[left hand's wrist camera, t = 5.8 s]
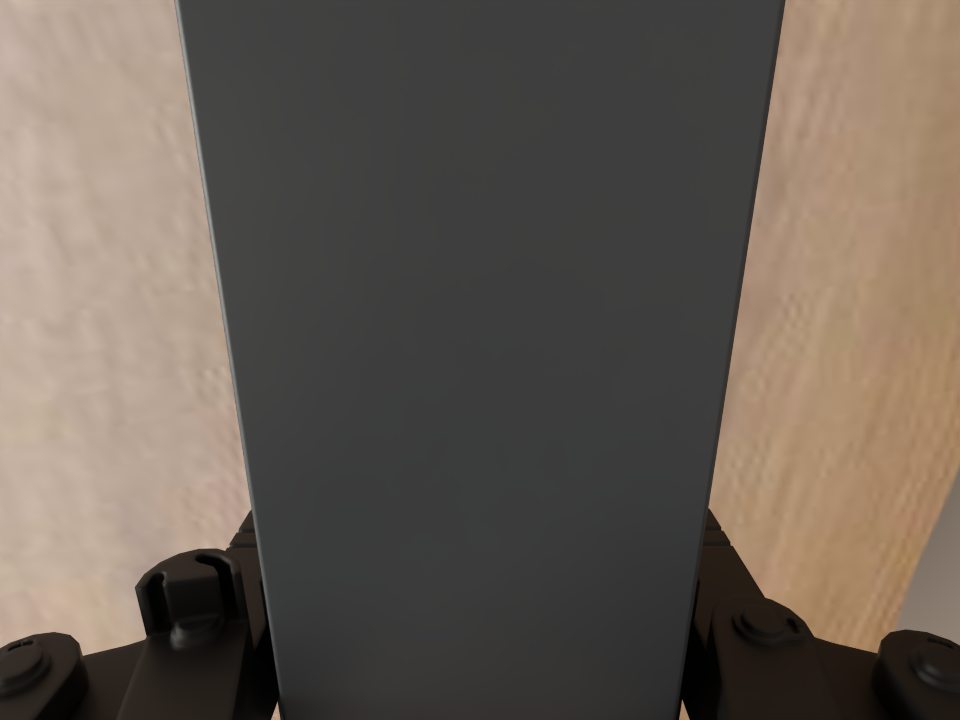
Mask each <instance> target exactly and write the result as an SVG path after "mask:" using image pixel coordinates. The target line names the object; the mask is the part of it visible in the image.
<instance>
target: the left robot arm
mask: <svg viewBox="0 0 960 720" xmlns="http://www.w3.org/2000/svg"><path fill="white" fill-rule="evenodd" d="M135 590H136V594H137V598H138V602H139V607H140V611H141V615H142V619H143V623H144V627H145V631H146V635H147V637H146V639H145V640H143V641H140V642H136V643H133V644H130V645H127V646H123V647H118V648H114V649H110V650H106V651H102V652H98V653H93V654H89V655H85V656H83V655H82V652H81V648H80V645H79V643H78V642H77V641H76V640H75V639H74V638H73V637H72V636H71V635H67V634H62V633H56V632H51V633H43V634H36V635H31V636H29V637H26V638H23V639H20V640H17V641H14V642H11V643H9V644H7V645H6V646H4V647H2V648H0V720H271V718H272V715H273V713H274V710H275V707H276V704H277V701H278V706H279V713H280V719H281V720H284V718H283V711H282V705H281V698H280V691H279V685H278V678H277V672H276V665H275V659H274V652H273V645H272V639H271V632H270V626H269V619H268V613H267V606H266V599H265V593H264V586H263V580H262V573H261V567H260V560H259V553H258V547H257V540H256V534H255V527H254V521H253V514H252V510H251V511H250V512H249V514H248V515H247V517H246V518H245V520H244V522H243V523H242V525H241V526H240V528H239V532H238V533H236V534H235V536H234V538H233V539H232V541H231V543H230V546H229V548H227V549H226V551H223V550H220V549H197V550H192V551H188V552H184V553H180V554H177V555H175V556H173V557H171V558H169V559H166V560H164V561H162V562H160V563H159V564H157V565H156V566H155V567H153V568H152V569H151V570H149V571H148V572H147V573H145V574H144V575H143V577H142V578H141V580H140V581H139V582H138V584H137V585H136V586H135ZM682 700H683V702H684V705H685V708H686V711H687V714H688V716H689V719H690V720H960V646H959V645H958V644H956V643H954V642H952V641H951V640H948V639H945V638H942V637H939V636H936V635H933V634H930V633H928V632H921V631H913V630H901V631H895V632H890V633H889V634H888V635H887V636H886V637H885V638H884V639H883V640H881V643H880V646H879V650H878V653H873V652H869V651H864V650H860V649H856V648H852V647H848V646H843V645H839V644H835V643H831V642H828V641H825V640H822V639H819V638H816V637H814V636H813V634H812V633H811V631H810V629H809V628H808V626H807V625H806V623H805V622H804V621H803V620H802V619H801V618H800V617H799V616H797V615H796V614H795V613H794V612H793V611H792V610H790V609H789V608H787V607H785V606H783V605H781V604H779V603H777V602H775V601H773V600H771V599H767V598H765V597H764V595H763V594H762V592H761V590H760V589H759V587H758V586H757V584H756V582H755V581H754V579H753V578H752V576H751V574H750V573H749V571H748V570H747V568H746V566H745V565H744V563H743V562H742V560H741V558H740V557H739V555H738V554H737V552H736V550H735V549H734V547H733V546H731V545H730V541H729V539H728V538H727V536H726V534H725V533H724V531H721V526H720V525H719V523H718V521H717V520H716V518H715V517H714V515H713V513H712V512H711V510H710V509H709V508H708V513H707V519H706V526H705V532H704V539H703V545H702V552H701V559H700V565H699V572H698V578H697V585H696V591H695V598H694V605H693V611H692V618H691V624H690V631H689V637H688V644H687V651H686V657H685V664H684V670H683V677H682V683H681V690H680V697H679V703H678V710H677V716H676V720H679V716H680V710H681V703H682Z"/></svg>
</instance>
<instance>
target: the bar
mask: <svg viewBox="0 0 960 720" xmlns="http://www.w3.org/2000/svg"><path fill="white" fill-rule="evenodd" d="M174 1H175V8H176V15H177V21H178V28H179V34H180V41H181V47H182V54H183V61H184V67H185V74H186V80H187V87H188V93H189V100H190V107H191V113H192V120H193V126H194V133H195V139H196V146H197V153H198V159H199V166H200V172H201V179H202V185H203V192H204V199H205V205H206V212H207V218H208V225H209V231H210V238H211V245H212V251H213V258H214V264H215V271H216V277H217V284H218V291H219V297H220V304H221V310H222V317H223V323H224V330H225V337H226V343H227V350H228V356H229V363H230V369H231V376H232V383H233V389H234V396H235V402H236V409H237V415H238V422H239V429H240V435H241V442H242V448H243V455H244V461H245V468H246V475H247V481H248V488H249V494H250V501H251V507H252V514H253V521H254V527H255V534H256V540H257V547H258V553H259V560H260V567H261V573H262V580H263V586H264V593H265V599H266V606H267V613H268V619H269V626H270V632H271V639H272V645H273V652H274V659H275V665H276V672H277V678H278V685H279V691H280V698H281V705H282V711H283V718H284V720H676V716H677V710H678V703H679V697H680V690H681V683H682V677H683V670H684V664H685V657H686V651H687V644H688V637H689V631H690V624H691V618H692V611H693V605H694V598H695V591H696V585H697V578H698V572H699V565H700V559H701V552H702V545H703V539H704V532H705V526H706V519H707V513H708V506H709V499H710V493H711V486H712V480H713V473H714V467H715V460H716V453H717V447H718V440H719V434H720V427H721V421H722V414H723V407H724V401H725V394H726V388H727V381H728V375H729V368H730V361H731V355H732V348H733V342H734V335H735V329H736V322H737V315H738V309H739V302H740V296H741V289H742V283H743V276H744V269H745V263H746V256H747V250H748V243H749V237H750V230H751V223H752V217H753V210H754V204H755V197H756V191H757V184H758V177H759V171H760V164H761V158H762V151H763V145H764V138H765V131H766V125H767V118H768V112H769V105H770V99H771V92H772V85H773V79H774V72H775V66H776V59H777V53H778V46H779V39H780V33H781V26H782V20H783V13H784V7H785V0H174Z"/></svg>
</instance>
